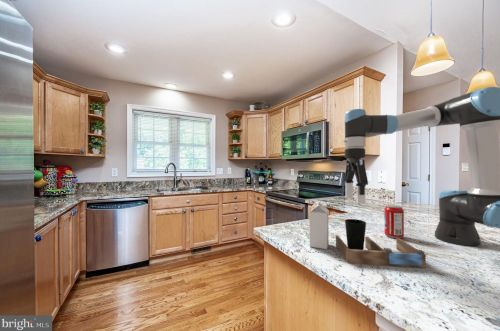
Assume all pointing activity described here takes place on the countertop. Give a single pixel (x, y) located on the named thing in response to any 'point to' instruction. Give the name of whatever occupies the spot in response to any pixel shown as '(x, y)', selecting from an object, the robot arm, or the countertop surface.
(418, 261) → the comb rack
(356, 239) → the cup
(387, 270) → the countertop surface
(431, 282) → the countertop surface
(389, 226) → the soda can
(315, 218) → the milk carton
